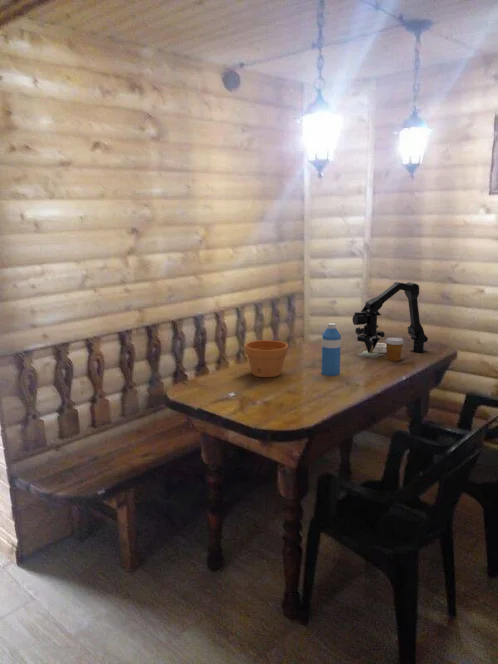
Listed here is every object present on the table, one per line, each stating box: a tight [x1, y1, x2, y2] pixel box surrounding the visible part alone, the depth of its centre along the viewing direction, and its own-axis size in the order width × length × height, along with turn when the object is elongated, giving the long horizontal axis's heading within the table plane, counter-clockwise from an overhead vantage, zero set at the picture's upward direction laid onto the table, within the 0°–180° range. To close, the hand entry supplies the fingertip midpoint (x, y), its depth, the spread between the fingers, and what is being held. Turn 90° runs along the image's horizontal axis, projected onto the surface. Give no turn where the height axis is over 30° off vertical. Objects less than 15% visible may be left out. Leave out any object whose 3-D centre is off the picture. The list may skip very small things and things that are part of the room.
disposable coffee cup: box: [384, 336, 404, 362], centre depth 297 cm, size 10×10×12 cm
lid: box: [362, 345, 378, 357], centre depth 307 cm, size 8×8×5 cm
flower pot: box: [244, 339, 289, 378], centre depth 276 cm, size 21×21×15 cm
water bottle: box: [321, 322, 342, 377], centre depth 274 cm, size 9×9×25 cm
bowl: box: [373, 342, 387, 354], centre depth 315 cm, size 9×9×4 cm
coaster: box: [356, 351, 385, 359], centre depth 308 cm, size 11×11×1 cm
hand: (370, 351), depth 307 cm, fingers closed on lid, 3 cm apart
